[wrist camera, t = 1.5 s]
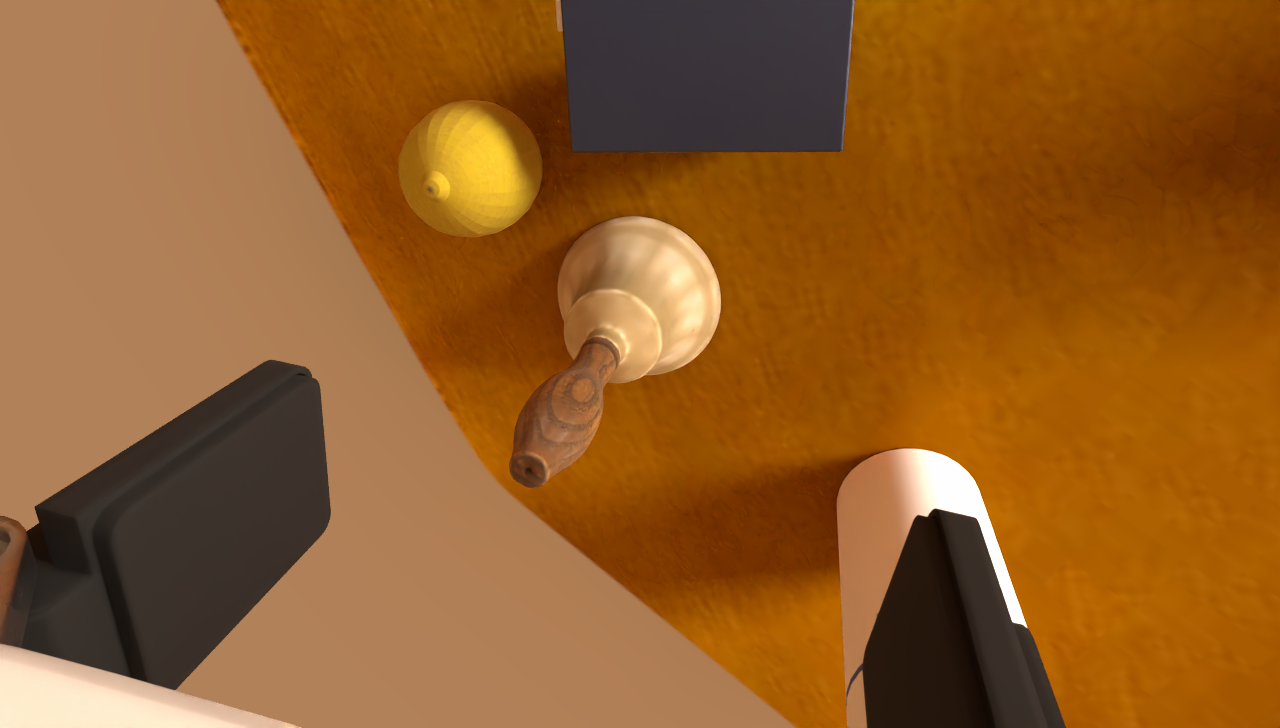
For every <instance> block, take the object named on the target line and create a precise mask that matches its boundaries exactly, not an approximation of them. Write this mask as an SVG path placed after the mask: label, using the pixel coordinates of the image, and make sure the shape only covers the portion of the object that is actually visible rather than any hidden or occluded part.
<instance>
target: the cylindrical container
mask: <svg viewBox="0 0 1280 728" xmlns="http://www.w3.org/2000/svg"><path fill="white" fill-rule="evenodd" d="M935 508H937V509H941V510H946V511H950V512H955V513H959V514H964V515H968V516H972V517H975V518H977V520H978V521H979V523H980V526H981V529H982V532H983V535H984V538H985V541H986V544H987V547H988V550H989V553H990V556H991V559H992V562H993V565H994V568H995V571H996V574H997V577H998V580H999V583H1000V586H1001V589H1002V592H1003V595H1004V598H1005V601H1006V604H1007V607H1008V610H1009V613H1010V616H1011V618H1012V621H1013V622H1015V623H1019V624H1023V625H1024V626H1025V627H1027V626H1026V623H1025V621H1024V618H1023V615H1022V612H1021V609H1020V606H1019V603H1018V601H1017V598H1016V595H1015V592H1014V589H1013V586H1012V583H1011V581H1010V578H1009V575H1008V572H1007V569H1006V566H1005V563H1004V561H1003V558H1002V555H1001V552H1000V549H999V546H998V543H997V541H996V538H995V535H994V532H993V529H992V526H991V523H990V520H989V518H988V515H987V512H986V509H985V506H984V503H983V500H982V498H981V495H980V492H979V490H978V487H977V485H976V483H975V481H974V480H973V478H972V477H971V476H970V474H969V473H968V472H967V471H966V470H965V469H964V468H963V467H962V466H960V465H959V464H958V463H957V462H955V461H953V460H951V459H950V458H948V457H946V456H943V455H941V454H938V453H935V452H932V451H927V450H921V449H897V450H890V451H886V452H883V453H880V454H877V455H874V456H872V457H870V458H868V459H866V460H864V461H862V462H861V463H860V464H859V465H857V466H856V467H855V468H854V469H852V471H851V472H850V473H849V474H848V475H847V476H846V478H845V479H844V481H843V483H842V485H841V487H840V489H839V493H838V497H837V523H838V544H839V565H840V586H841V607H842V627H843V648H844V669H845V690H846V706H847V728H867V721H866V709H865V697H864V684H863V658H864V652H865V648H866V645H867V642H868V640H869V637H870V634H871V632H872V629H873V626H874V624H875V621H876V618H877V616H878V613H879V610H880V608H881V605H882V602H883V600H884V597H885V594H886V592H887V589H888V586H889V584H890V581H891V578H892V576H893V573H894V570H895V568H896V565H897V562H898V560H899V557H900V554H901V552H902V549H903V546H904V544H905V541H906V538H907V536H908V533H909V530H910V528H911V525H912V523H913V520H914V518H915V517H916V516H917V515H922V516H926V517H928V515H929V513H930V512H931V511H932V509H935Z"/></svg>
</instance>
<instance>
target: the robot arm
mask: <svg viewBox="0 0 1280 728" xmlns="http://www.w3.org/2000/svg"><path fill="white" fill-rule="evenodd" d="M35 510H36V514H37V517H38V520H39V524H37V525H35V526H34V527H33V528H31V529H29V530H28V531H26V529H25V528H24V527H23V526H22V525H21V524H20V523H19V522H18V521H16V520H13V519H10V518H8V517H5V516H0V728H303V727H299V726H296V725H292V724H289V723H285V722H282V721H279V720H275V719H271V718H268V717H265V716H261V715H258V714H254V713H251V712H247V711H244V710H241V709H237V708H234V707H230V706H227V705H223V704H220V703H216V702H213V701H209V700H206V699H202V698H199V697H195V696H192V695H188V694H185V693H182V692H178V691H175V690H176V689H177V688H178V687H179V686H180V684H181V683H182V682H183V681H184V680H185V679H186V678H187V677H188V676H189V675H190V674H191V673H192V672H193V671H194V669H196V668H197V667H198V665H199V664H200V663H201V662H202V661H203V660H204V659H205V658H206V657H207V656H208V655H209V654H210V653H211V652H212V651H213V650H214V649H215V647H216V646H217V645H218V644H219V643H220V642H221V641H222V640H223V639H224V638H225V637H226V636H227V635H228V634H229V633H230V631H232V629H233V628H234V627H235V626H236V625H237V624H238V623H239V622H240V621H241V620H242V619H243V618H244V617H245V616H246V615H247V614H248V613H249V611H250V610H251V609H252V608H253V607H254V606H255V605H256V604H257V603H258V602H259V601H260V600H261V599H262V598H263V596H265V594H266V593H267V592H268V591H269V590H270V589H271V588H272V587H273V586H274V585H275V584H276V583H277V582H278V581H279V580H280V578H281V577H282V576H283V575H284V574H285V573H286V572H287V571H288V570H289V569H290V568H291V567H292V566H293V565H294V564H295V563H296V562H297V561H298V560H299V558H300V557H301V556H302V555H303V554H304V553H305V552H306V551H307V550H308V549H309V548H310V547H311V546H312V545H313V544H314V542H315V541H316V540H317V539H318V538H319V537H320V536H321V535H322V534H323V533H324V531H325V529H326V528H327V526H328V523H329V520H330V514H331V509H330V498H329V486H328V474H327V462H326V452H325V440H324V428H323V416H322V405H321V393H320V386H319V383H318V381H317V380H316V379H314V378H312V374H311V372H310V371H309V369H307V368H306V367H302V366H298V365H294V364H289V363H285V362H280V361H276V360H268V361H266V362H264V363H262V364H261V365H259V366H257V367H256V368H254V369H252V370H251V371H249V372H248V373H246V374H244V375H243V376H241V377H240V378H238V379H237V380H235V381H234V382H232V383H230V384H229V385H227V386H225V387H224V388H222V389H221V390H219V391H218V392H216V393H214V394H213V395H211V396H210V397H208V398H207V399H205V400H204V401H202V402H200V403H199V404H197V405H196V406H194V407H192V408H191V409H189V410H187V411H186V412H184V413H183V414H181V415H179V416H178V417H177V418H175V419H173V420H172V421H170V422H168V423H167V424H165V425H164V426H162V427H161V428H159V429H158V430H156V431H154V432H153V433H151V434H149V435H148V436H146V437H145V438H143V439H142V440H140V441H138V442H137V443H135V444H133V445H132V446H130V447H129V448H127V449H126V450H124V451H122V452H121V453H119V454H118V455H116V456H115V457H113V458H111V459H110V460H108V461H107V462H105V463H103V464H102V465H100V466H99V467H97V468H96V469H94V470H92V471H91V472H89V473H88V474H86V475H84V476H83V477H81V478H80V479H78V480H77V481H75V482H73V483H72V484H70V485H69V486H67V487H65V488H64V489H62V490H61V491H59V492H57V493H56V494H54V495H53V496H51V497H49V498H48V499H46V500H45V501H43V502H42V503H40V504H38V505H37V506H35ZM863 684H864V697H865V709H866V721H867V728H1066V727H1065V724H1064V721H1063V718H1062V716H1061V713H1060V710H1059V707H1058V705H1057V702H1056V699H1055V696H1054V693H1053V691H1052V688H1051V685H1050V682H1049V680H1048V677H1047V674H1046V671H1045V669H1044V666H1043V663H1042V660H1041V658H1040V655H1039V652H1038V649H1037V646H1036V644H1035V641H1034V638H1033V636H1032V635H1031V633H1030V631H1029V629H1028V628H1027V627H1025V626H1024V625H1023V624H1019V623H1015V622H1013V621H1012V618H1011V616H1010V613H1009V610H1008V607H1007V604H1006V601H1005V598H1004V595H1003V592H1002V589H1001V586H1000V583H999V580H998V577H997V574H996V571H995V568H994V565H993V562H992V559H991V556H990V553H989V550H988V547H987V544H986V541H985V538H984V535H983V532H982V529H981V526H980V523H979V521H978V520H977V518H975V517H972V516H968V515H964V514H959V513H955V512H950V511H946V510H941V509H937V508H935V509H932V511H931V512H930V513H929V515H928V517H926V516H922V515H917V516H916V517H915V518H914V520H913V523H912V525H911V528H910V530H909V533H908V536H907V538H906V541H905V544H904V546H903V549H902V552H901V554H900V557H899V560H898V562H897V565H896V568H895V570H894V573H893V576H892V578H891V581H890V584H889V586H888V589H887V592H886V594H885V597H884V600H883V602H882V605H881V608H880V610H879V613H878V616H877V618H876V621H875V624H874V626H873V629H872V632H871V634H870V637H869V640H868V642H867V645H866V648H865V652H864V658H863Z"/></svg>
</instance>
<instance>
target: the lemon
mask: <svg viewBox="0 0 1280 728" xmlns="http://www.w3.org/2000/svg"><path fill="white" fill-rule="evenodd" d="M398 175H399V180H400V184H401V189H402V192H403V194H404V196H405V198H406V201H407V203H408V204H409V205H410V207H411V208H412V210H413V211H414V212H415V214H416V215H417V216H418V217H420V218H421V219H422V220H423V221H424V222H425V223H426V224H427V225H429V226H431V227H433V228H434V229H436V230H438V231H440V232H443V233H446V234H449V235H452V236H456V237H480V236H485V235H489V234H494V233H497V232H499V231H501V230H503V229H505V228H507V227H509V226H511V225H512V224H514V223H516V222H517V221H518V220H519V219H520V218H521V217H522V216H523V215H524V214H525V213H526V212H527V211H528V210H529V209H530V207H531V205H532V203H533V202H534V200H535V198H536V196H537V194H538V192H539V189H540V184H541V180H542V176H543V170H542V157H541V153H540V149H539V145H538V143H537V141H536V139H535V137H534V135H533V133H532V132H531V130H530V129H529V128H528V127H527V125H526V124H525V123H524V122H523V121H522V119H520V118H519V117H518V116H516V115H515V114H514V113H512V112H511V111H510V110H508V109H506V108H504V107H501V106H499V105H497V104H495V103H492V102H486V101H480V100H464V101H457V102H451V103H448V104H446V105H444V106H442V107H439V108H437V109H435V110H433V111H431V112H430V113H428V114H427V115H426V116H425V117H424V118H423V119H422V120H421V121H419V122H418V123H417V124H416V125H415V126H414V127H413V129H412V130H411V131H410V133H409V135H408V137H407V138H406V140H405V142H404V143H403V146H402V150H401V153H400V157H399V168H398Z"/></svg>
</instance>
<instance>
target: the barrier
mask: <svg viewBox="0 0 1280 728" xmlns="http://www.w3.org/2000/svg"><path fill="white" fill-rule="evenodd" d="M555 2H556V15H557V28H558V32H563V40H564V54H565V67H566V81H567V94H568V108H569V121H570V135H571V148H572V152H840V151H842V150H843V140H844V128H845V115H846V103H847V90H848V78H849V65H850V53H851V40H852V28H853V16H854V3H855V0H555Z"/></svg>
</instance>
